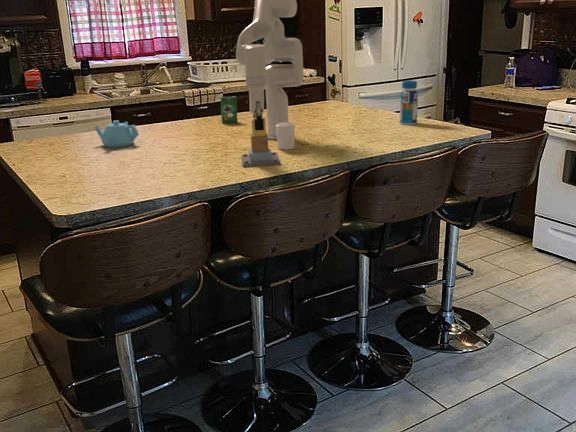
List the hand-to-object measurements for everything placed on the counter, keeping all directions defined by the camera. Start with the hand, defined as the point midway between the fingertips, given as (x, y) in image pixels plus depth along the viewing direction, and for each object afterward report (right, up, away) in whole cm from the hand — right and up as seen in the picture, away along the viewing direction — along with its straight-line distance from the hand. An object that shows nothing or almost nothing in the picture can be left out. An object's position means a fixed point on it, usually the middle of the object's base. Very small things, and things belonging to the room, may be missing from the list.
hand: (258, 127), depth 227 cm
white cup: (+10, -5, +24) cm, 27 cm away
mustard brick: (0, -3, +1) cm, 3 cm away
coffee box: (-19, +15, +84) cm, 88 cm away
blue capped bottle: (+69, +11, +65) cm, 95 cm away
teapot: (-64, -2, +42) cm, 77 cm away
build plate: (0, -12, +4) cm, 13 cm away
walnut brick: (0, -8, +3) cm, 9 cm away
